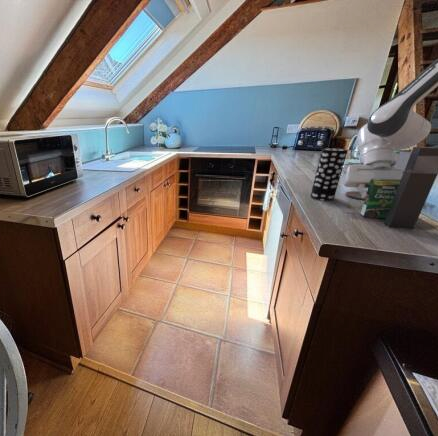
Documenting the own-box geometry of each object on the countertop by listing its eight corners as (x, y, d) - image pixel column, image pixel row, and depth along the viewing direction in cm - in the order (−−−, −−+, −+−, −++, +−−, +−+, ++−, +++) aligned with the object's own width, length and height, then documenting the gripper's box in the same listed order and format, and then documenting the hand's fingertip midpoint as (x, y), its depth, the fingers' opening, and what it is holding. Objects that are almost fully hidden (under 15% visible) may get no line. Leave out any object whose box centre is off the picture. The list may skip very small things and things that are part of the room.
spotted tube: (333, 196, 104) (346, 148, 97) (334, 202, 98) (348, 151, 90) (310, 194, 109) (321, 147, 101) (310, 199, 102) (322, 150, 94)
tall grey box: (375, 217, 83) (402, 144, 74) (397, 219, 81) (427, 144, 72) (389, 227, 76) (420, 147, 66) (413, 229, 74) (449, 148, 65)
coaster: (361, 192, 109) (362, 190, 109) (385, 200, 99) (386, 198, 98) (338, 193, 108) (339, 191, 108) (360, 201, 98) (361, 199, 98)
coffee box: (361, 217, 83) (374, 179, 78) (358, 214, 86) (371, 177, 81) (391, 220, 80) (407, 181, 75) (387, 217, 83) (402, 179, 78)
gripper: (346, 157, 85) (350, 191, 80) (420, 158, 79) (429, 195, 74) (337, 167, 90) (341, 200, 86) (406, 169, 85) (414, 204, 80)
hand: (383, 198), depth 80 cm, fingers closed on coffee box, 8 cm apart
